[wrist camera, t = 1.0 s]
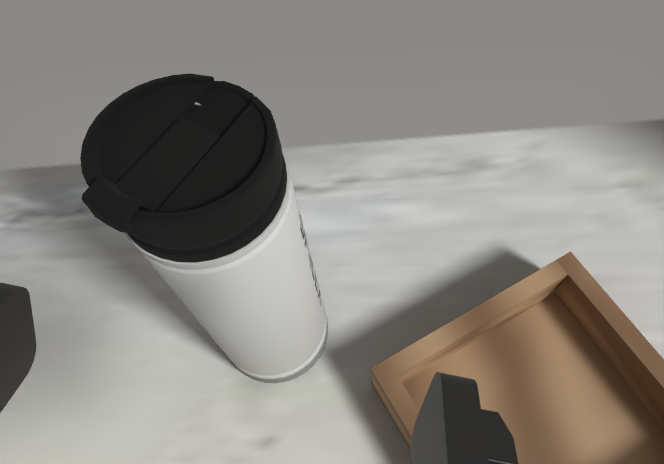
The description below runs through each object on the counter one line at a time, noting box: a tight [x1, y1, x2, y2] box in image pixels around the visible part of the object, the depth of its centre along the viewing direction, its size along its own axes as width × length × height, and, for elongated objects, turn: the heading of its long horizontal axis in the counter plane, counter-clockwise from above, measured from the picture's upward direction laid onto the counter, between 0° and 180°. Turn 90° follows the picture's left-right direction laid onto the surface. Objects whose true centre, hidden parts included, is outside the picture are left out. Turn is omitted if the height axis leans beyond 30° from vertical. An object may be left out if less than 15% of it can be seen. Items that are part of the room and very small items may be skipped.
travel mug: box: [81, 74, 328, 383], centre depth 27 cm, size 6×7×20 cm
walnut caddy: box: [371, 252, 664, 464], centre depth 31 cm, size 13×13×4 cm
